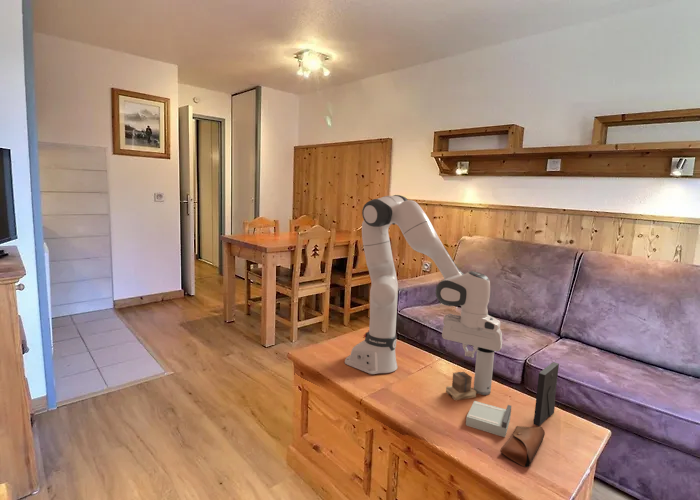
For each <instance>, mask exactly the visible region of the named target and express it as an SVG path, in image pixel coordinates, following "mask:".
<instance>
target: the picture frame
mask: <svg viewBox="0 0 700 500" xmlns="http://www.w3.org/2000/svg"><path fill="white" fill-rule="evenodd" d="M559 366H560V365H559V363H558V362H551V363H550V364H549V365H547V366H546V367H545V368H544V369H542V370H541V371H540V372H539V373H538V380H537V389H536V396H535V406H534V407H535V408H534V416H533V425H535V426H537V427H541V426H542V425H543V423H544V422H545V421H546V420H547V419H548V418H550V417H552V415H553V414H555V408H556V393H557V392H556V391H557V383H558V375H559Z"/></svg>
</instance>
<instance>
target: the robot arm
mask: <svg viewBox="0 0 700 500" xmlns="http://www.w3.org/2000/svg"><path fill="white" fill-rule="evenodd" d="M361 210H362V211H361V215H362V219H363V220H362V223H361V238H362V246H363V251H364V256H365V257H364V258H365V264H366V266H367V270H368V273H369V277H370V283H371V284H370V285H371V286H370V290H369V327H368V331H367V332H365V333H364V334H363V335H362V336H363V337H362V338H364V340H362V341H361V342H359V343H357V344H356V345H354V346H353V347H352V349H351V352H350V354H349V355H348V356H347V357H345V360H344V364H345V365H347V366H349V367H352V368H355V369H357V370H360V371H362V372H365V373H368V374H369V375H375V374H389V373H392V372H395V371H396V370H397V369H398V362H397V358H396V357H397V356H396V347H397V334H396V330H397V310H398V296H399V283H398V278H397V272H396V268H395V267H396V266H395V262H394V257H393V251H392V247H391V241H390V235H389V229H390V226H392V225H394V226H395V225H397V227H399V229H400V231H401V233H402V235H403V237H404V239H405V241H406V243H407V244H408V246H410V248H411V249H412V250H413V251H415V252H417V253H420V254H423V255H425V256H427V257H429V259H431V260H432V261H433V262H434V264H435V266H436V267H437V269H438V271H439V272H440V273H441V275H442V277H443V278H444V279H443V280H441V281H439V283H437V284H436V287H435V297H436V298H437V300H438V301H439V303H440V304H442V305H445V306H448V307H460V308H461V309H460V310H461V311H460V315H458V314H457V315H456V314H452V313H448V314H445V315H444V316H443V321H442V324H443V328H442V332H441V337H442V338H443V339H444V340H446V341H447V340H448V341H452V342H455V343H460V344H462V345H461V346H462V348H463V350H464V357H468V358H473V359H474V358H475V352H476V353H477V349H478V347H480V348H485V349H489V350H493V351H494V352H500V350H501V349H502V347H503V333H502V329H501V321H500V320H499V319H498V318H495V317H494V316H492V315H489V311H488V304H489V303H490V296H491V281H490V278H489V277H488V276H487V275H485V274H484V273H481V272H478V271H473V270H472V271H468V272H466V273H463V272H462V271H461V270H460V268H459V267H458V266H457V264H456V263H455V261H454V260H453V257H452V256H451V255H450V253H449V251H448V250H447V248H446V247H445V246H444V244H443V242H442V241H441V239H440V237H439V235H438V234H437V233H438V232H437V231H436V230H435V228H434V226H433V224H432V222H431V219H429V217H428V215H427V214H426V212H425V211H424V210H423V207H421V206H420V204H419V203H418V202H416V201H415V200H411V199H408V198H406V197H405V196H403V195H399V194H395V195H385V196H382V197H379V198H373V199H371V200H369V201H367V202H366V203H365V204H364V205H363V207H362V209H361ZM468 346H472V348H473V350H469V349H468Z"/></svg>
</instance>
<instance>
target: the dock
mask: <svg viewBox="0 0 700 500" xmlns="http://www.w3.org/2000/svg"><path fill="white" fill-rule="evenodd" d="M511 414H512V405H510V404H507V406H506V408H503V407H500V406H499V407H498V406H495V405H491V404H489V403H488V404H487V403H484V402H480V401H477V400H473V403H472V405H471V406H470V408H469V411H468V413H467V415H466V419H465V426H467V427H470V428H473V429H476V430H479V431H483V432H487V433H490V434H493V435H496V436H500V437H501V438H506V436H507V432H508V429H509V425H510V422H511Z"/></svg>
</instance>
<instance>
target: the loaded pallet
mask: <svg viewBox="0 0 700 500" xmlns="http://www.w3.org/2000/svg"><path fill="white" fill-rule="evenodd" d="M472 379H473V378H472V376H471V375H469V373H467V372H465V371H457V372H452V383H451V385H449V386H446V387H445V393H447V396H449V395H450V396H451V397H452V399H453V400H454V401H459V400H467V399H473V398H477V393H476V391H475V390H474V387H472V381H473V380H472Z"/></svg>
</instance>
